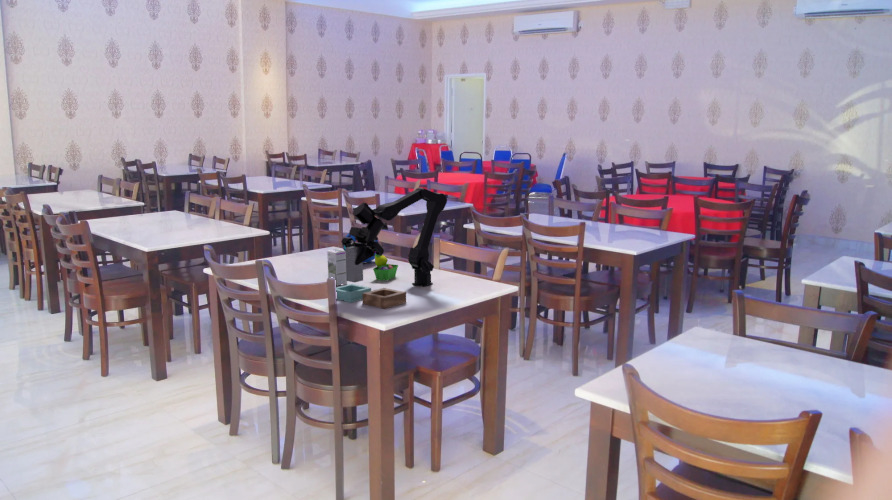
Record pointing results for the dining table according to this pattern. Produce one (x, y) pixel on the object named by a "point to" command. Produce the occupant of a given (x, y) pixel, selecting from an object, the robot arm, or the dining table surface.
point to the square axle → (353, 264)
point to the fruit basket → (384, 268)
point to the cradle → (351, 292)
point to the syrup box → (337, 265)
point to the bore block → (384, 298)
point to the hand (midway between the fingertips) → (351, 263)
